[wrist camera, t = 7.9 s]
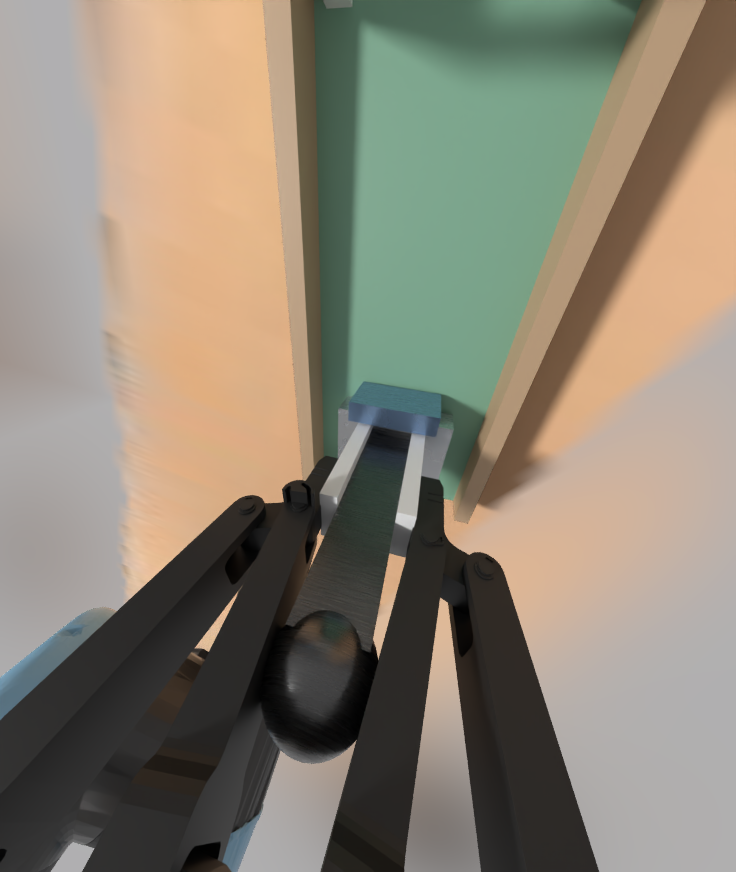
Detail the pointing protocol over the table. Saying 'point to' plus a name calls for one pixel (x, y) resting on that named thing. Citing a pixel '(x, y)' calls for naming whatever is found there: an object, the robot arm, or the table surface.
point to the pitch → (450, 193)
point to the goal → (338, 3)
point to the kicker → (348, 580)
